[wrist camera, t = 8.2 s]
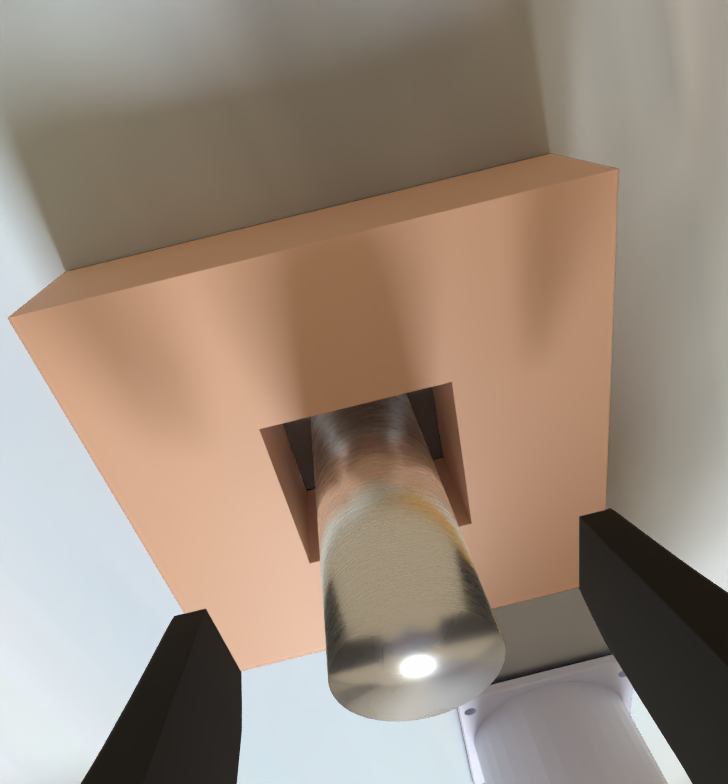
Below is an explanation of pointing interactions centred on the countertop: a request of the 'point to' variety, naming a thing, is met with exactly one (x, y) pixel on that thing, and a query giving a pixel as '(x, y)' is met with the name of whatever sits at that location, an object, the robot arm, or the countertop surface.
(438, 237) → the hole block
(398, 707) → the steel peg
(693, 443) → the countertop surface
